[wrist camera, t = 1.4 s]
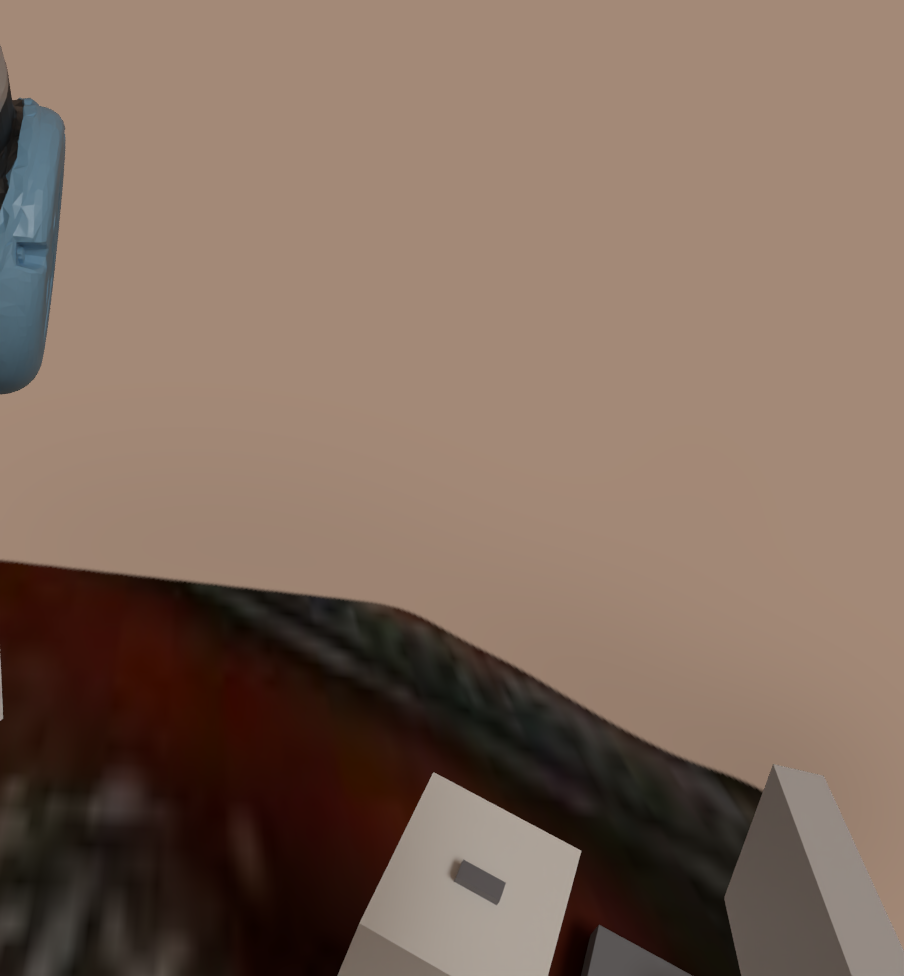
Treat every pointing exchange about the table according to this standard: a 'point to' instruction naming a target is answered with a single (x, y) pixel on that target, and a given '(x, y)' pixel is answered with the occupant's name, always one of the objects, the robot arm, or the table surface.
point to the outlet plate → (622, 958)
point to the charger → (465, 894)
